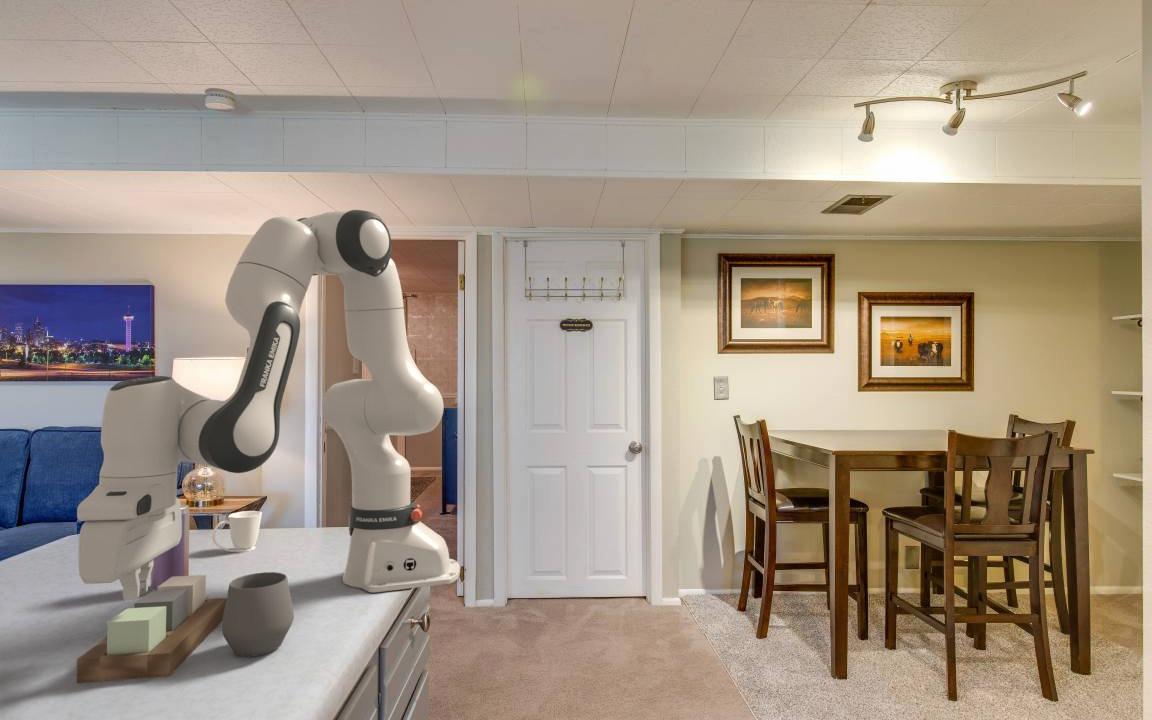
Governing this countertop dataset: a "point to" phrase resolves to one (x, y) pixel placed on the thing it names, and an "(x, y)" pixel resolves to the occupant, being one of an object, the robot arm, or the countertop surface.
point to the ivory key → (188, 589)
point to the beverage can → (173, 556)
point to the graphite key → (167, 605)
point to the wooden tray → (158, 659)
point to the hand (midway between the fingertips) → (135, 596)
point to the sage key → (136, 630)
